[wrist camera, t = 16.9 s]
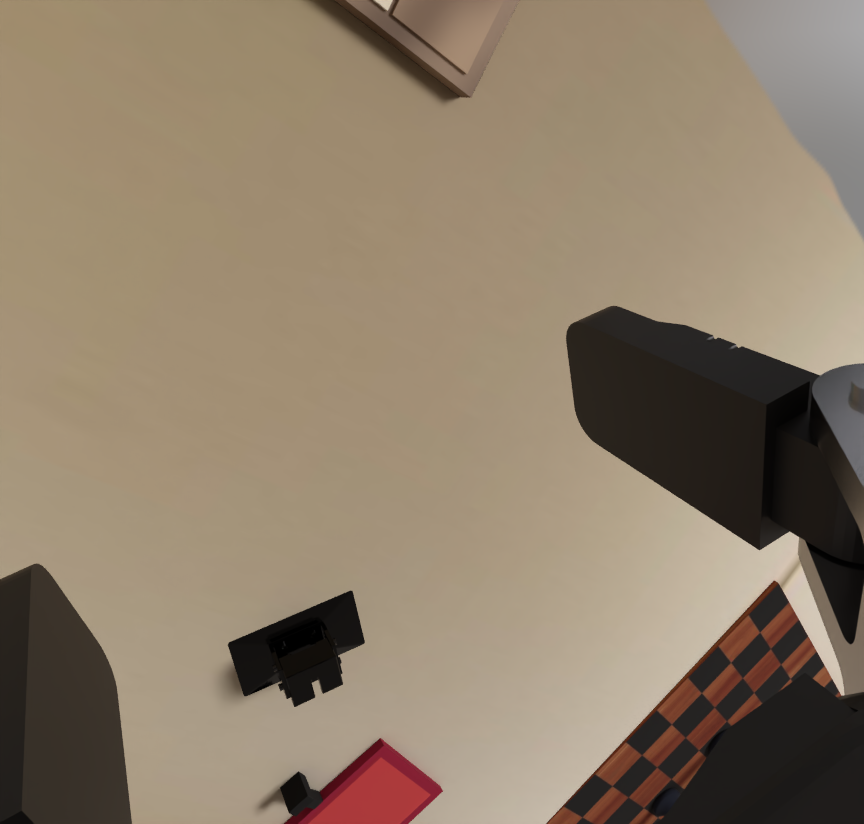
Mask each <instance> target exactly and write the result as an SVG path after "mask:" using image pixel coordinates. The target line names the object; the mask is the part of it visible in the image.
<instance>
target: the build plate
mask: <svg viewBox="0 0 864 824" xmlns="http://www.w3.org/2000/svg"><path fill="white" fill-rule="evenodd" d="M364 643H365V641H364V637H363V633H362V628H361V624H360V620H359V616H358V612H357V608H356V604H355V599H354V595H353V592H352V591H349V592H346V593H344V594H342V595H339V596H337V597H334V598H332V599H330V600H327V601H325V602H323V603H320V604H318V605H316V606H313V607H311V608H309V609H306V610H304V611H302V612H299V613H297V614H295V615H292V616H290V617H288V618H285V619H283V620H281V621H278V622H276V623H274V624H271V625H269V626H267V627H264V628H262V629H260V630H257V631H255V632H253V633H250V634H248V635H246V636H243V637H241V638H239V639H236V640H234V641H231V642H229V643H228V647H229V650H230V653H231V656H232V659H233V663H234V666H235V669H236V672H237V675H238V678H239V682H240V685H241V688H242V691H243V694H244V696H248V695H250V694H253V693H255V692H257V691H259V690H262V689H264V688H266V687H268V686H271V685H273V684H275V683H277V682H280V683H281V684H278V686H279V689H280V691H282V690H284V693H285V696H286V698H287V699H288V698H290V697H291V700H292V702H293V705H294V707H296V706H298V705H300V704H302V703H304V702H307V701H309V700H311V699H313V698H315V694H314V690H313V687H312V682H314V681H316V680H318V681H319V684H320V688H321V691H322V693H323V694H324V693H326V692H328V691H330V690H332V689H334V688H336V687H339V686H341V685H343V681H342V677H341V674H342V670H341V666H340V664H341V663H342V662H341V659H340V657H338V655H340V654H342V653H345V652H347V651H349V650H351V649H354V648H356V647H358V646H360V645H362V644H364Z"/></svg>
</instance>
